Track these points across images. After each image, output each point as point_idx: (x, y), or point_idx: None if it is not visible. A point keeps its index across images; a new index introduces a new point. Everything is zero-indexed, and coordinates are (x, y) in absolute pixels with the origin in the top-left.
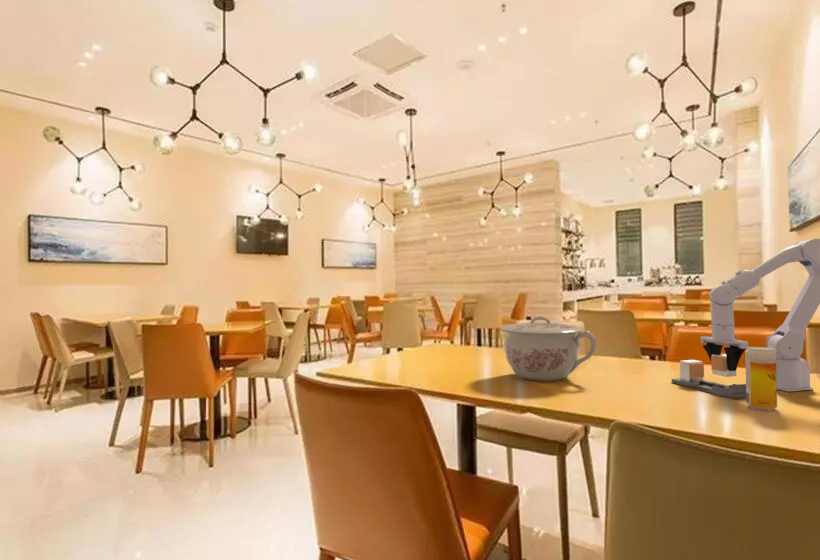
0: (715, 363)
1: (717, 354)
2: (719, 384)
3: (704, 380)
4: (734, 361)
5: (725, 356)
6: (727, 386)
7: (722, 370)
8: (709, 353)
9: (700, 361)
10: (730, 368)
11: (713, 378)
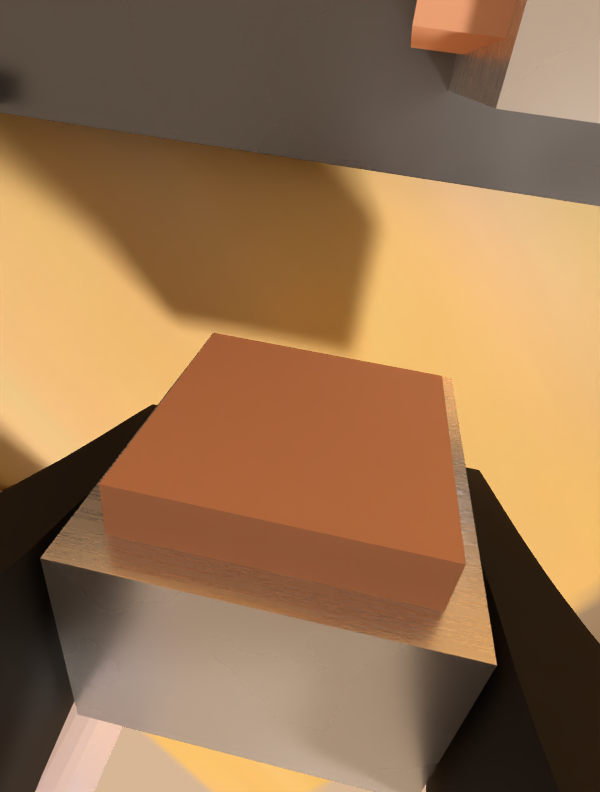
0: (344, 429)
1: (395, 715)
2: (183, 91)
3: (465, 163)
4: None
5: (93, 591)
6: (55, 69)
7: (218, 342)
8: (577, 698)
9: (560, 25)
10: (127, 420)
11: (564, 532)
